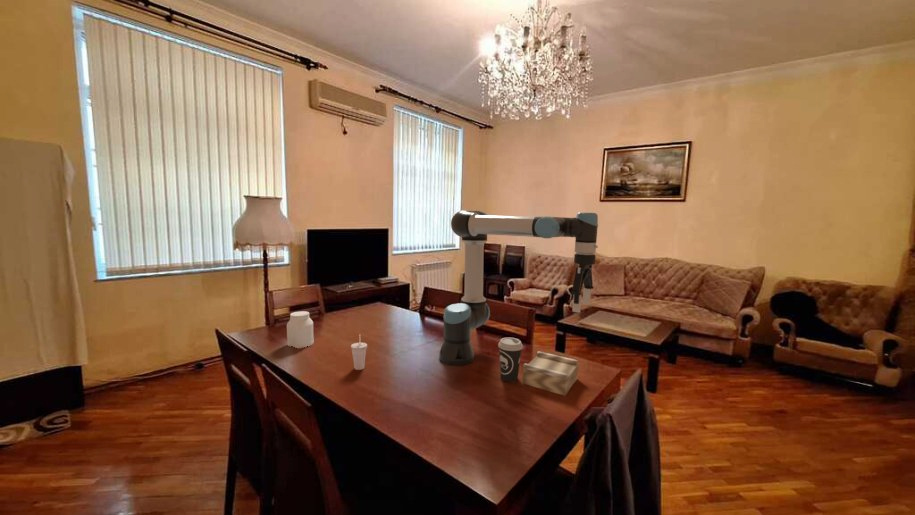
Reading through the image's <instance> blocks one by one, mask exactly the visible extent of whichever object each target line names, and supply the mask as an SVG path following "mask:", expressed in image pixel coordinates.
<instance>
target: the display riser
mask: <svg viewBox="0 0 915 515" xmlns="http://www.w3.org/2000/svg"><path fill="white" fill-rule="evenodd" d="M522 366H523V369H522V370H523V371H522V384H523V385H527V386H529V387H530V386H531V387H533V388H536V389H540V390H544V391H548V392H551V393H554V394H558V395H561V396H564V397H566V395H567V394H568V393H569V392H570V390H571V388H572V387H573V385H574V384H575V383H576V381H577V380H578V368H579V367H578V366H579V360H578V359H575V358H570V357H565V356H562V355H561V356H560V355H557V354H552V353H548V352H544V351H537V352H536V356H535V357H534V358H533V359H531V361H530V362H528V363H526V362H524V363H523V365H522Z"/></svg>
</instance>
